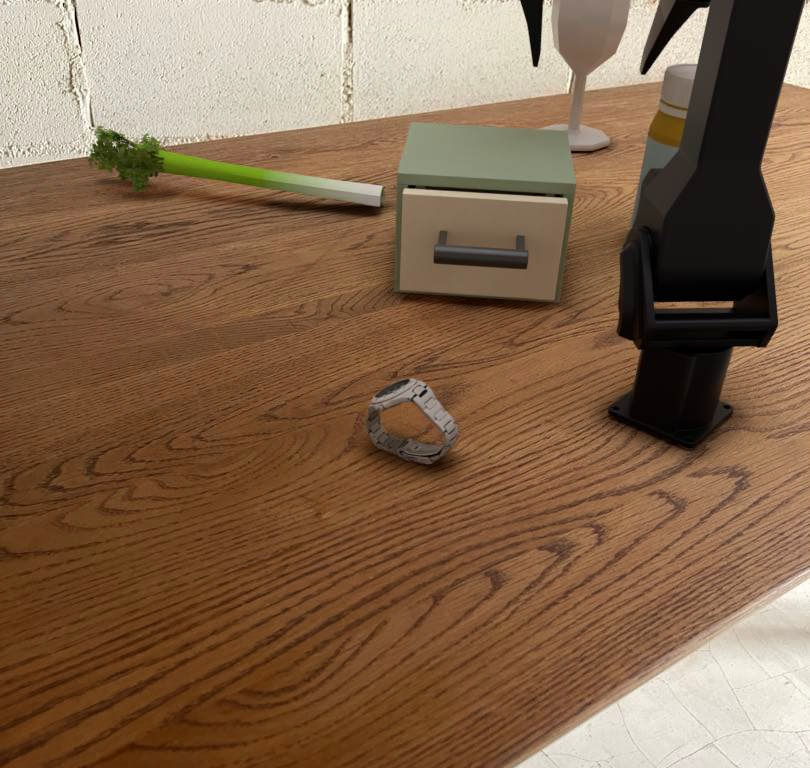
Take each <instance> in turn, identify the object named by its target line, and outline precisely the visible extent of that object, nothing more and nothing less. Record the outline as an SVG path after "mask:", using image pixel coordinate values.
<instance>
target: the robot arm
mask: <svg viewBox="0 0 810 768" xmlns="http://www.w3.org/2000/svg"><path fill="white" fill-rule="evenodd" d="M519 3H520V5H521V9H522V12H523V15H524V19H525V22H526V23H525V24H526V26H527V33H528V40H529V47H530V54H531V61H532V67H533V68H538V67H539V62H540V57H541V52H542V37H543V36H542V34H543V17H544V14H543V13H544V0H519ZM805 4H806V0H659V2H658V5H657V8H656V11H655V13H654V17H653V19H652V22H651V26H650V28H649V32H648V36H647V38H646V41H645V44H644V47H643V50H642V54H641V55H642V56H641V61H640V65H639V73H640V75H641V76H646V75H647V74H648V72H649V71H650V69H651V68H652V67H653V65H654V64H655V62H656V61H657V60H658V58H659V57H660V55H661V54H662V52H664V49H666V47H667V45H668V44H669V43H670V41H671V40H672V38H673V37H674V36H675V34H676V33H678V32H679V30H680V29H681V28H682V27H683V26H684V24H685V23H686V22H687V21H688V20H689V19H690V18H691V17H692V15H693V14H694V13H695V12H696V11H698V9H708V12H707V17H706V22H705V27H704V31H703V35H702V40H701V44H700V50H699V54H698V58H697V63H696V64H697V68H696V73H695V78H694V82H693V87H692V92H691V96H690V101H689V106H688V110H687V115H686V120H685V125H684V129H683V134H682V139H681V143H680V146H679V150H678V151H677V153H676V154H675V155H674V156H673V157H672V159H671V160H670V161H669V162H668V163H667V164H666V166H665V167H664V168H651V169H650V170H649V171H648V173H647V175H646V176H645V178H644V179H643V181H642V184H641V191H640V199H639V205H638V210H637V214H636V218H635V221H634V224H633V227H632V228H631V229H630V228H629V230H628V233H627V235H626V238H625V241H624V243H623V244H622V246H621V247H622V248H621V251H620V253H619V286H618V287H619V288H618V300H617V309H618V320H617V321H618V322H617V326H616V334H617V336H618V337H620V338H622V339H625V340H627V341H629V342H632V343H633V344H634V347H636V349H637V351H639V356H638V361H637V366H636V370H635V374H634V380H633V385H632V389H631V390H629V391H628V392H627V393H625V394H623V396H621V397H619V398H618V399H617V400H616V401H614V402H612V403H611V404H610V405H609V406H608V409H607V415H608V416H610V417H611V418H614V419H616V420H619V421H620V422H624V423H626V424H628V425H631V426H632V427H635V428H637V429H640V430H642V431H644V432H646V433H649V434H652V435H654V436H657V437H659V438H661V439H664V440H666V441H668V442H671V443H673V444H675V445H678V446H680V447H682V448H684V449H695V448H696V447H697V446H698V445H699V444H701V443H702V442H703V441H704V440H705V439H706V438H707V437H708V436H710V435H711V434H712V433H713V432H714V431H716V430H717V428H719V427H720V426H721V425H722V424H724V422H726V421H727V420H728V419H729V418H730V417H731V416H732V415H733V414H734V411H735V407H734V405H732V404H730V403H728V402H725V401H722V400H720V397H721V394H722V390H723V388H724V387H723V386H724V383H725V379H726V376H727V374H728V370H729V366H730V362H731V359H732V355H733V352H734V348H744V347H745V348H746V347H748V348H749V347H750V348H751V347H753V348H754V347H755V348H757V349H763V348H765V349H766V348H767V347H768V345H769V343H770V342H771V340H772V338H773V336H774V334H775V333H776V332H777V330H778V328H779V314H778V304H777V293H776V292H777V291H776V281H775V279H776V278H775V270H774V259H773V258H774V257H773V247H772V236H773V233H774V226H775V222H776V212H775V210H774V209H775V208H774V205H773V203H772V199H771V197H770V193H769V191H768V186H767V183H766V181H765V178H764V174H763V171H762V165H763V159H764V156H765V153H766V149H767V146H768V145H767V144H768V141H769V137H770V135H771V134H770V133H771V131H772V130H771V129H772V126H773V122H774V119H775V115H776V110H777V107H778V105H779V100H780V96H781V93H782V89H783V85H784V82H785V78H786V75H787V70H788V67H789V63H790V61H791V55H792V52H793V49H794V46H795V45H794V44H795V42H796V41H795V40H796V36H797V33H798V29H799V27H800V23H801V19H802V15H803V11H804V8H805ZM705 302H706V303H708V302H709V303H713V302H714V303H715V302H716V303H717V302H719V303H720V302H721V303H722V302H723V303H725V302H732V306H731V307H728V306H727V307H664V308H663V307H661V308H660V307H657V308H656V307H655V303H705Z"/></svg>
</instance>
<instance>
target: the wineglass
mask: <svg viewBox="0 0 810 768" xmlns="http://www.w3.org/2000/svg"><path fill="white" fill-rule="evenodd" d="M631 1H632V0H552V6H551V15H550V22H551V32H552V33H551V34H552V40H553V41H552V42H553V47H554V49H555V50H556V51H557V53H558V54H559V55H560V57H561V58H562V59H563V61H564V62H565V63H566V65H567V66H568V67H569V69H570V70H571V72H572V73H573V74H574V80H573V87H572V94H571V102H570V107H569V108H570V109H569V115H568V122H567V124H565V123H563V124H561V123H559V124H555V123H554V124H550V125H547V126H543V127H539V128H538V129H542V130H560V131H567V133H568V138H569V144H570V150H571V152H578V151H579V152H590V151H591V152H593V151H596V150H599V149H601V148H605V147H608V146H610V144H611V139H610V138H609V136H608V135H607V134H606V133H605V131H603V130H600V129H597V128H594V127H591V126H587V125H583V124H581V122H582V121H581V120H582V115H583V114H582V113H583V107H584V100H585V99H584V98H585V91H586V85H587V78H588V76H589V75H590V74H591V73H593V72H594V71H595V70H597V69H598V68H600V66H602V65H603V64H604V63H605V62H607V61H608V60H610V58H613V56H615V54H616V53H617V51H618V48H619V46H620V43H621V41H622V38H623V37H624V33H625V32H626V28H627V25H628V21H629V20H628V19H629V14H630V8H631Z"/></svg>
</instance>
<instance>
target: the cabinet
mask: <svg viewBox="0 0 810 768" xmlns="http://www.w3.org/2000/svg"><path fill="white" fill-rule="evenodd" d="M415 186H433V187H449V188H466V189H482V190H499V191H515V192H532V193H548V194H556V196H555V198H567V201H568V208H567V215H566V222H565V229H564V236H563V243H562V249H561V256H560V263H559V270H558V277H557V284H556V291H555V298H554V300H540V299H525V298H510V297H494V296H479V295H464V294H449V293H434V292H418V291H403V290H400V263H401V230H402V196H403V190H404V189H405V188H407V189H415ZM576 191H577V178H576V173H575V168H574V160H573V157H572V151H571V150H570V144H569V138H568V133H567V131H560V130H542V129H539V128H525V127H524V128H523V127H522V128H521V127H506V126H489V125H472V124H471V125H470V124H452V123H438V122H436V123H435V122H419V121H411V122H410V124H409V128H408V131H407V135H406V139H405V142H404V146H403V149H402V153H401V157H400V161H399V164H398V168H397V172H396V196H395V197H396V200H395V201H396V203H395V235H394V237H395V239H394V241H395V242H394V278H393V292H394V293H403V294H416V295H417V294H420V295H434V296H435V295H436V296H450V297H463V298H464V297H466V298H478V299H479V298H480V299H496V300H511V301H525V302H526V301H527V302H538V303H539V302H540V303H541V302H542V303H557V304H559V303H560V299H561V292H562V286H563V278H564V272H565V265H566V258H567V251H568V244H569V237H570V231H571V224H572V217H573V211H574V205H575V204H574V203H575V198H576Z"/></svg>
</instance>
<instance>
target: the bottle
mask: <svg viewBox="0 0 810 768" xmlns="http://www.w3.org/2000/svg"><path fill="white" fill-rule="evenodd" d="M696 68H697V63H676V64H671V65H668V66H667V67H666V69H665V71H664V74H663V79H662V84H661V89H660V98H659V100H658V108H657V111H656V113H655V115H654V117H653V119H652V121H651V123H649V127H648V132H647V137H646V141H645V148H644V153H643V158H642V163H641V168H640V172H639V179H638V185H637V189H636V195H635V198H634V199H635V200H634V205H633V209H632V215H631V222H630V226H629V230H630V229H631V228H632V227H633V224H634V221H635V218H636V214H637V210H638V205H639V199H640V191H641V184H642V181H643V179H644V178H645V176H646V175H647V173H648V171H649V170H650V169H651V168H664V167H665V166H666V164H667V163H668V162H669V161H670V160H671V159H672V157H673V156H674V155H675V154H676V153H677V151H678V150H679V146H680V143H681V139H682V134H683V129H684V125H685V120H686V115H687V110H688V106H689V101H690V96H691V92H692V87H693V82H694V78H695V73H696Z"/></svg>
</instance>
